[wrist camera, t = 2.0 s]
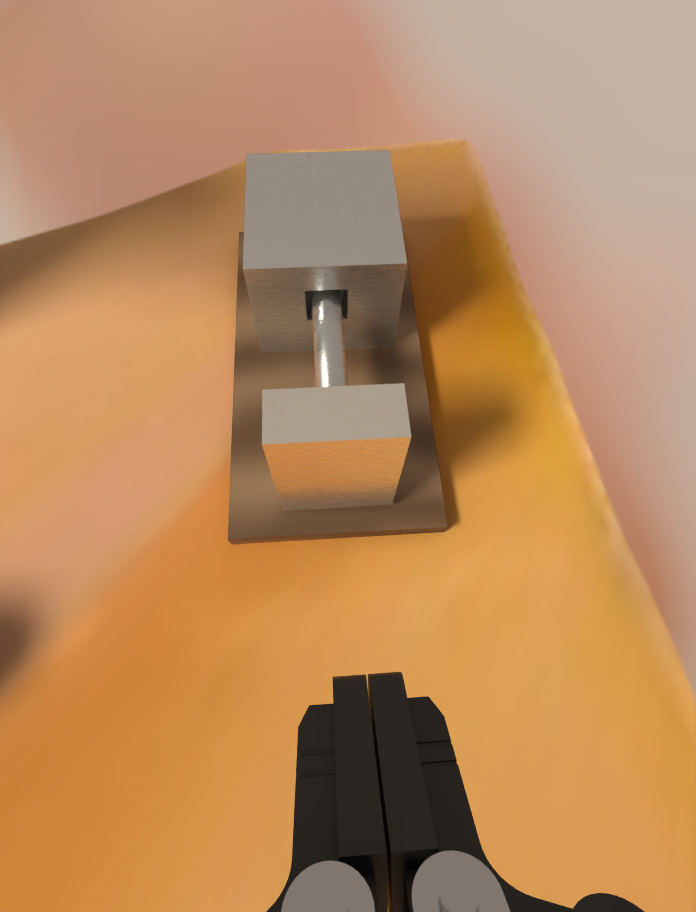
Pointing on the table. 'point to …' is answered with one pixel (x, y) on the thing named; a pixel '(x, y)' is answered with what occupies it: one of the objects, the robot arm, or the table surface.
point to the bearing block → (323, 245)
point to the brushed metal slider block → (334, 428)
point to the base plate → (254, 371)
